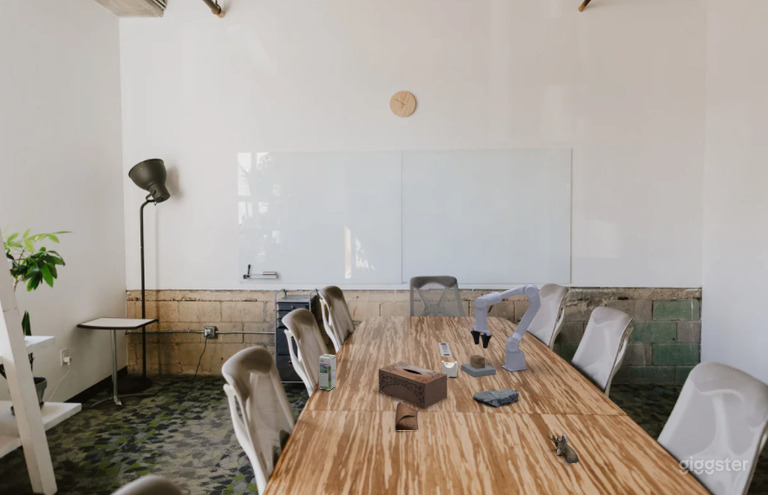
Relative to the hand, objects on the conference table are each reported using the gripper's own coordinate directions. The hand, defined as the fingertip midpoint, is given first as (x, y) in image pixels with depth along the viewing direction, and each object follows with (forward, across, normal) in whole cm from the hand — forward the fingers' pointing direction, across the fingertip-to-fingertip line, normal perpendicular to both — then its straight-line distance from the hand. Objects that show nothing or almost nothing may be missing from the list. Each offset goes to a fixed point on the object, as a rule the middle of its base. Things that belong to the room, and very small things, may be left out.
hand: (480, 346), depth 213 cm
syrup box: (+10, +2, -81) cm, 82 cm away
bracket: (+10, +5, -21) cm, 24 cm away
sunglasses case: (+11, +44, -61) cm, 76 cm away
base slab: (+10, +8, -7) cm, 15 cm away
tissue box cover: (+10, +22, -49) cm, 55 cm away
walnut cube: (+7, +8, -7) cm, 13 cm away
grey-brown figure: (+10, +83, -26) cm, 87 cm away
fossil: (+10, +41, -20) cm, 47 cm away
